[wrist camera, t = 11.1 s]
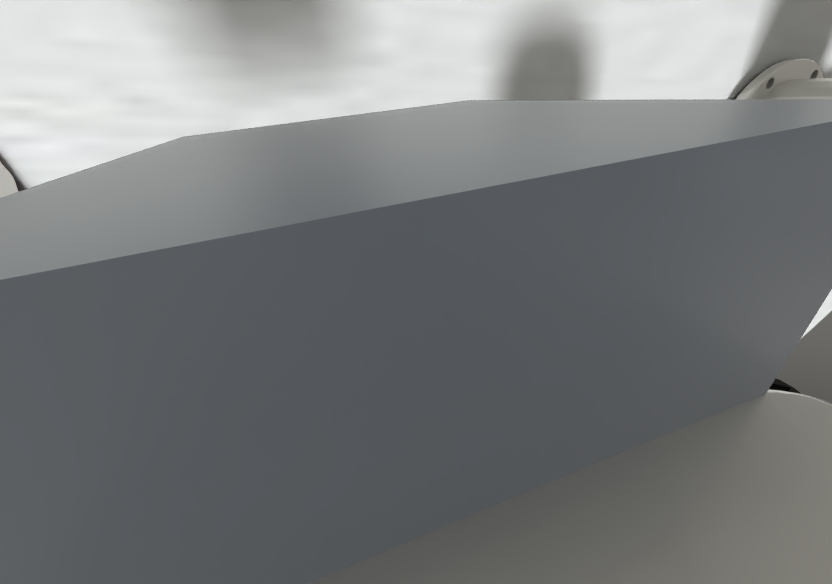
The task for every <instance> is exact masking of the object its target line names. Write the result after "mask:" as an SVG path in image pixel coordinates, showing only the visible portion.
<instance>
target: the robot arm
mask: <svg viewBox="0 0 832 584" xmlns="http://www.w3.org/2000/svg"><path fill="white" fill-rule="evenodd" d="M748 99H832V78H824V75H823V73H822V70H821V68H820V67H819V65H818V64H817V63H816V62H815V61H812V60H810V59H791V60H785V61H781V62H779V63H777V64H774V65H772V66H771V67H769V68H768V69H766V70H765V71H763V72H762V73H760V74H759V75H758V76H757V77H756V78H755V79H754V80H752V81H751V82H750V83H749V84H748V85H747V86H746V87H745V88H744V90H743V91H742V92H741V93H740V94H739V95H738V96H737V98H736V99H735V100H748ZM308 584H832V402H828V401H825V400H821V399H818V398H814V397H809V396H806V395H802V394H801V393H800V392H798V391H797V390H796V389H795V388H793V387H791V386H789V385H788V384H786V383H784V382H782V381H780V380H778V379H776V378H775V380H774V382H773V383H772V385H771V386H770V388H769V390H768V391H767V393H766V394H765V395H762V396H760V397H757V398H755V399H752V400H750V401H747V402H745V403H742V404H740V405H737V406H735V407H732V408H730V409H727V410H725V411H722V412H720V413H717V414H715V415H712V416H710V417H707V418H705V419H702V420H700V421H698V422H695V423H693V424H690V425H688V426H685V427H683V428H680V429H678V430H676V431H673V432H671V433H668V434H666V435H663V436H661V437H658V438H656V439H653V440H651V441H648V442H646V443H644V444H641V445H639V446H636V447H634V448H632V449H629V450H627V451H624V452H622V453H619V454H617V455H615V456H612V457H610V458H607V459H605V460H603V461H600V462H598V463H595V464H593V465H590V466H588V467H586V468H583V469H581V470H578V471H576V472H574V473H571V474H569V475H566V476H564V477H562V478H559V479H557V480H554V481H552V482H549V483H547V484H545V485H542V486H540V487H537V488H535V489H532V490H530V491H528V492H525V493H523V494H520V495H518V496H516V497H513V498H511V499H508V500H506V501H504V502H501V503H499V504H496V505H494V506H492V507H489V508H487V509H485V510H482V511H480V512H477V513H475V514H473V515H470V516H468V517H465V518H463V519H461V520H458V521H456V522H453V523H451V524H449V525H446V526H444V527H441V528H439V529H437V530H434V531H432V532H430V533H427V534H425V535H422V536H420V537H418V538H415V539H413V540H411V541H408V542H406V543H403V544H401V545H399V546H396V547H394V548H392V549H389V550H387V551H384V552H382V553H380V554H377V555H375V556H373V557H370V558H368V559H365V560H363V561H361V562H358V563H356V564H354V565H351V566H349V567H346V568H344V569H342V570H339V571H337V572H334V573H332V574H330V575H327V576H325V577H323V578H320V579H318V580H315V581H313V582H311V583H308Z"/></svg>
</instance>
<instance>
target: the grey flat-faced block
mask: <svg viewBox="0 0 832 584" xmlns="http://www.w3.org/2000/svg"><path fill="white" fill-rule="evenodd" d="M831 289H832V99H748V100H468V101H460V102H452V103H444V104H437V105H429V106H421V107H413V108H405V109H397V110H390V111H382V112H374V113H366V114H358V115H350V116H342V117H335V118H327V119H319V120H311V121H303V122H295V123H288V124H280V125H272V126H264V127H256V128H248V129H241V130H233V131H225V132H217V133H209V134H201V135H193V136H186V137H181V138H178V139H175V140H172V141H169V142H166V143H163V144H160V145H157V146H154V147H151V148H148V149H145V150H142V151H139V152H136V153H133V154H130V155H127V156H124V157H121V158H118V159H115V160H112V161H109V162H106V163H103V164H100V165H97V166H94V167H91V168H88V169H85V170H82V171H79V172H76V173H73V174H70V175H67V176H64V177H61V178H58V179H55V180H52V181H49V182H46V183H43V184H40V185H37V186H34V187H31V188H28V189H25V190H22V191H19V192H16V193H13V194H10V195H7V196H4V197H1V198H0V584H308V583H311V582H313V581H315V580H318V579H320V578H323V577H325V576H327V575H330V574H332V573H334V572H337V571H339V570H342V569H344V568H346V567H349V566H351V565H354V564H356V563H358V562H361V561H363V560H365V559H368V558H370V557H373V556H375V555H377V554H380V553H382V552H384V551H387V550H389V549H392V548H394V547H396V546H399V545H401V544H403V543H406V542H408V541H411V540H413V539H415V538H418V537H420V536H422V535H425V534H427V533H430V532H432V531H434V530H437V529H439V528H441V527H444V526H446V525H449V524H451V523H453V522H456V521H458V520H461V519H463V518H465V517H468V516H470V515H473V514H475V513H477V512H480V511H482V510H485V509H487V508H489V507H492V506H494V505H496V504H499V503H501V502H504V501H506V500H508V499H511V498H513V497H516V496H518V495H520V494H523V493H525V492H528V491H530V490H532V489H535V488H537V487H540V486H542V485H545V484H547V483H549V482H552V481H554V480H557V479H559V478H562V477H564V476H566V475H569V474H571V473H574V472H576V471H578V470H581V469H583V468H586V467H588V466H590V465H593V464H595V463H598V462H600V461H603V460H605V459H607V458H610V457H612V456H615V455H617V454H619V453H622V452H624V451H627V450H629V449H632V448H634V447H636V446H639V445H641V444H644V443H646V442H648V441H651V440H653V439H656V438H658V437H661V436H663V435H666V434H668V433H671V432H673V431H676V430H678V429H680V428H683V427H685V426H688V425H690V424H693V423H695V422H698V421H700V420H702V419H705V418H707V417H710V416H712V415H715V414H717V413H720V412H722V411H725V410H727V409H730V408H732V407H735V406H737V405H740V404H742V403H745V402H747V401H750V400H752V399H755V398H757V397H760V396H762V395H765V394H766V393H767V391H768V390H769V388H770V386H771V385H772V383H773V382H774V380H775V378H776V377H777V375H778V373H779V372H780V370H781V368H782V367H783V366H784V364H785V362H786V361H787V359H788V358H789V356H790V354H791V353H792V351H793V350H794V348H795V346H796V345H797V343H798V342H799V340H800V339H801V337H802V335H803V334H804V332H805V331H806V329H807V327H808V326H809V324H810V323H811V321H812V319H813V318H814V316H815V315H816V313H817V311H818V310H819V308H820V307H821V305H822V303H823V302H824V300H825V299H826V297H827V295H828V294H829V292H830V291H831Z"/></svg>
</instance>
